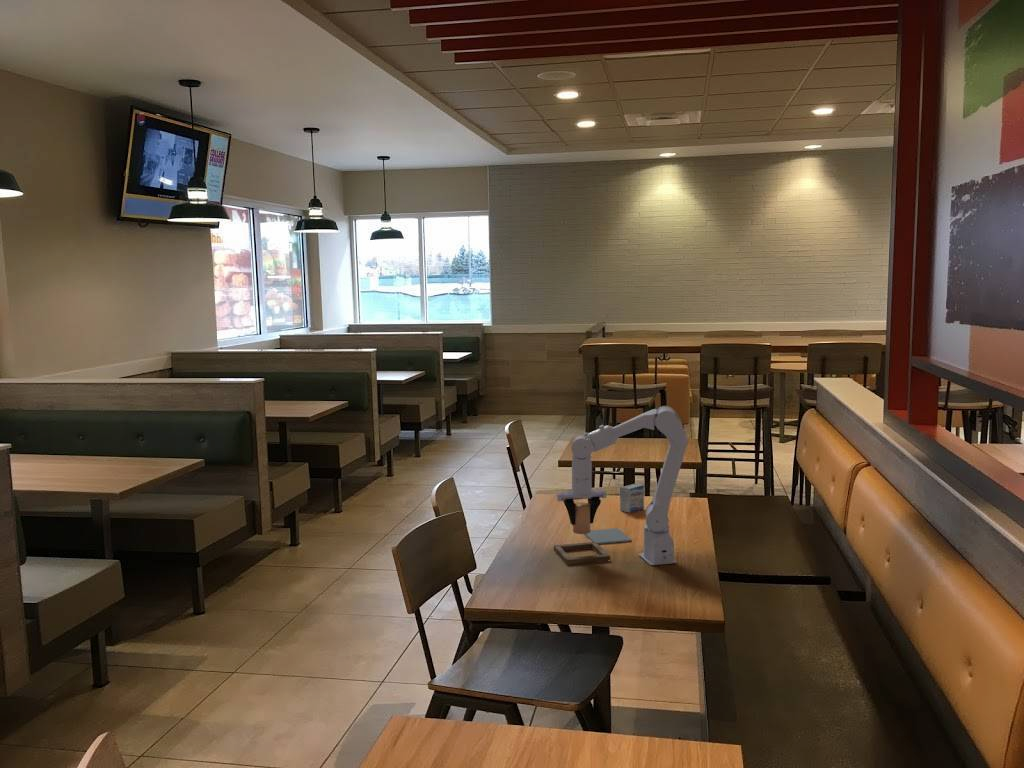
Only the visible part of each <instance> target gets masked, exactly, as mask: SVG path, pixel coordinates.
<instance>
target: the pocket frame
mask: <svg viewBox="0 0 1024 768" xmlns="http://www.w3.org/2000/svg"><path fill="white" fill-rule="evenodd" d="M589 548H592V549H591V550H593V551H594V550H595V551H594V553H596V552H597V553H596V555H585V556H575V557H571V556H569V555H568V554H567V552H570V550H571V551H579V550H578V549H582V550H590V549H589ZM553 551H554V552H555V554H557V555H558V557H559V558H560V559H561V560H562V561H563V563H565V565H567V566H570V565H571V564H573V565H581V564H580V563H583V564H589V563H588V562H594V563H599V562H598V561H604V562H609V561H608V560H610V561H611V555H610V554H609V553H608V552H607V551H606V550H605V549H604V548H602V547H601V546H600V544H599V545H598V544H597V543H596V542H591V541H589V542H578V543H577V542H576V543H569V544H568V543H567V544H554V545H553ZM598 554H599V555H598ZM571 566H572V565H571Z"/></svg>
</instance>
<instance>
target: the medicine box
mask: <svg viewBox="0 0 1024 768" xmlns="http://www.w3.org/2000/svg"><path fill="white" fill-rule="evenodd" d="M644 505H645V485H644V484H642V483H641V484H640V483H632V484H628V485H625V486H620V487H619V510H620V511H621V512H623V511H624V513H627V512H628V513H627V514H632V513H635V512H638V511H641V509H642V510H644V509H645V506H644ZM637 510H638V511H637ZM634 511H635V512H634ZM631 512H632V513H631Z"/></svg>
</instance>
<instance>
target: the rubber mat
mask: <svg viewBox="0 0 1024 768" xmlns="http://www.w3.org/2000/svg"><path fill="white" fill-rule="evenodd" d="M583 535H584V537H586V538H587V539H588V540H589V539H590V540H591V541H592V542H596V543H597V544H599V545H608V544H607V543H610V544H618V543H617V542H621V543H629V542H628V541H633V539H632V538H630V536H628V535H627V534H626V533H624V532H623V531H622V530H620V529H619V528H618V527H614V528H603V529H593V530H591V529H590V533H588V534H583ZM590 540H589V541H590ZM591 541H590V542H591Z"/></svg>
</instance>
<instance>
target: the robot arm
mask: <svg viewBox="0 0 1024 768" xmlns="http://www.w3.org/2000/svg"><path fill="white" fill-rule="evenodd" d="M655 427H656V429H657V430H658V431H659V432H661V434H663V435H664V436H665V437H666V439H667V440H668V443H669V445H668V449H667V451H666V455H665V458H664V462H663V465H662V469H661V471H660V475H659V478H658V482H657V485H656V489H655V492H654V494H653V496H652V498H651V502H650V503H649V504H648V505H647V506H646V507H645V516H646V518H645V524H644V526H643V552H639V553H638V554H637V555H638V556H639V557H641V559H642V560H644V561H645V562H646V563H647V564H649V565H650V566H658V565H659V566H660V565H669V564H677V560H676V559H674V555H675V554H674V551H675V549H674V547H675V543H674V539H673V538H672V537H671V534H670V526H669V517H668V516H669V515H668V514H669V511H670V505H671V499H672V496H673V493H674V490H675V487H676V483H677V480H678V476H679V473H680V468H681V467H682V463H683V460H684V457H685V452H686V450H687V446H688V443H689V441H688V437H687V435H686V432H685V430H684V429H685V428H684V425H683V423H682V419H681V418H680V416H679V414H678V413H677V412H676V411H675V409H673V407H671V406H669V405H662V406H660V407H658V408H657V409H656V408H654V409H653V408H652V409H651V410H648V411H645V412H643V413H641V414H638V415H637V416H635V417H632V418H630V419H628V420H626V421H624V422H622V423H620V424H617V425H615V426H611V425H607V424H606V425H604V424H601V425H599V426H598V429H595V430H593V431H591V432H587V431H586V432H584V433H583V435H578V436H576V437H575V438H574V439H573V441H572V444H571V453H572V456H571V458H572V461H571V491H565V492H560V493H556V501H558V502H563V504H564V506H565V508H566V511H567V513H568V517H569V522H570V524H571V525H572V526H573V525H575V507H576V504H575V503H576V502H575V500H576V501H577V500H586V499H587V503H589V504H590V524H594V521H595V520H594V519H595V516H596V513H597V511H598V509H599V507H600V505H601V502H602V500H601V499H600V498H603V499H607V491H606V490H605V489H592V488H593V483H592V481H593V477H592V475H593V473H592V472H593V468H592V467H593V465H592V464H593V462H592V453H593V452H598V451H601V450H603V449H605V448H609V447H610V446H612V445H613V446H614V445H616V443H617V441H618V438H620V437H623V436H626V435H629V434H631V433H633V432H636V431H638V430H639V431H640V430H641V429H649V430H653V431H654V430H655Z"/></svg>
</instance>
